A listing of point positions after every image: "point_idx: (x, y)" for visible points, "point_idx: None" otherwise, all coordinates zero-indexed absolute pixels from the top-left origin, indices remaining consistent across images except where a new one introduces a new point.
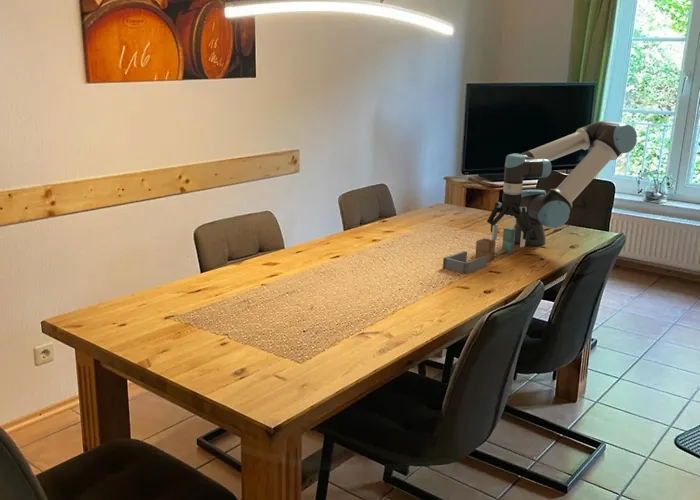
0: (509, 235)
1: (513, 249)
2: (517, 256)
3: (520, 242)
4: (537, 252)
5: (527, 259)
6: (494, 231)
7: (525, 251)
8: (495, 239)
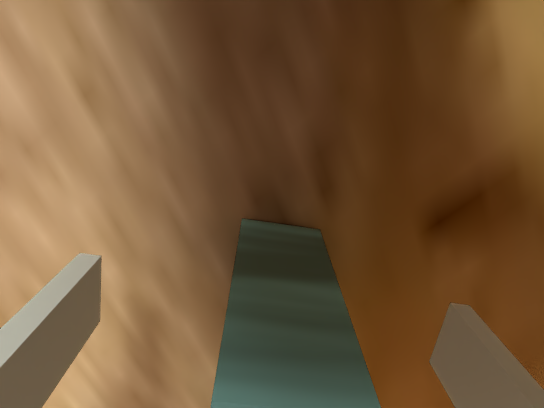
0: None
1: (321, 243)
2: (388, 318)
3: (454, 402)
4: (524, 87)
5: None
6: (40, 395)
7: (407, 130)
8: (97, 280)
